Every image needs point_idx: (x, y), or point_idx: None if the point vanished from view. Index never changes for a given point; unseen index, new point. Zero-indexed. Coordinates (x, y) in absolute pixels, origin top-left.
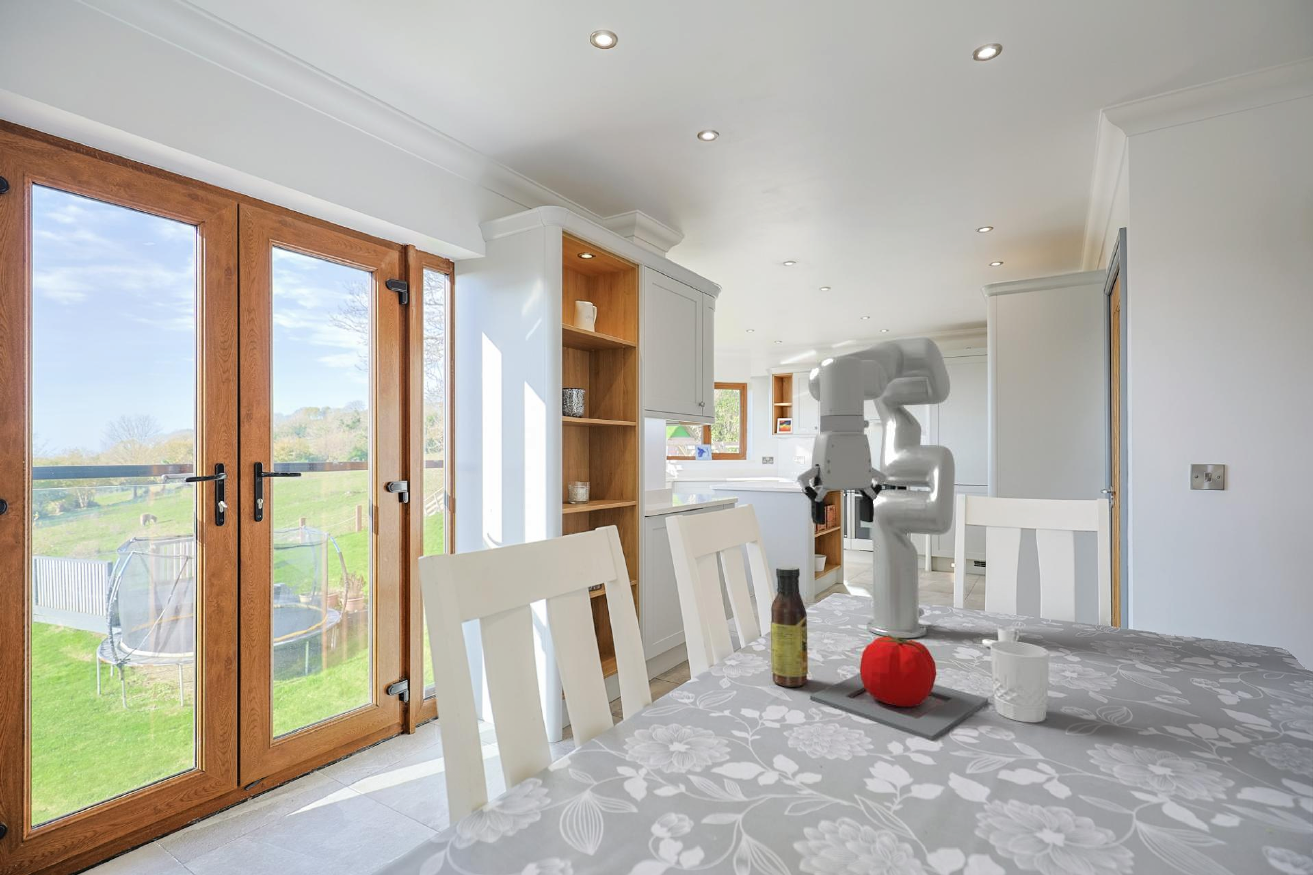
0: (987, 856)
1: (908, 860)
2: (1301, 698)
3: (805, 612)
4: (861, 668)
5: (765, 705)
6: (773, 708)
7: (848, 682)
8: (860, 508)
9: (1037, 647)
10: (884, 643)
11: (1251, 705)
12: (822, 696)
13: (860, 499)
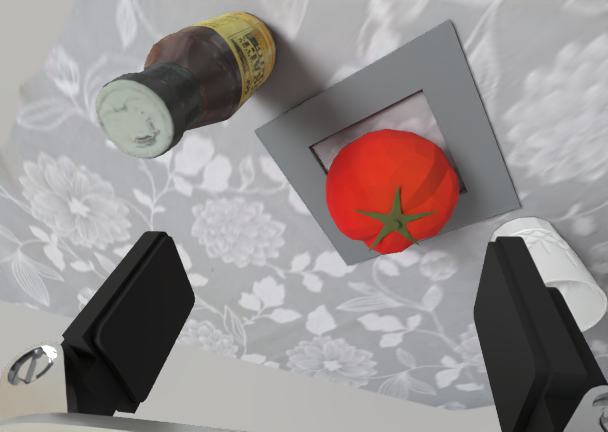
0: (278, 364)
1: (230, 354)
2: None
3: (233, 110)
4: (327, 177)
5: (184, 133)
6: (193, 145)
7: (345, 93)
8: (510, 309)
9: (601, 310)
10: (355, 226)
11: None
12: (272, 140)
13: (549, 372)
